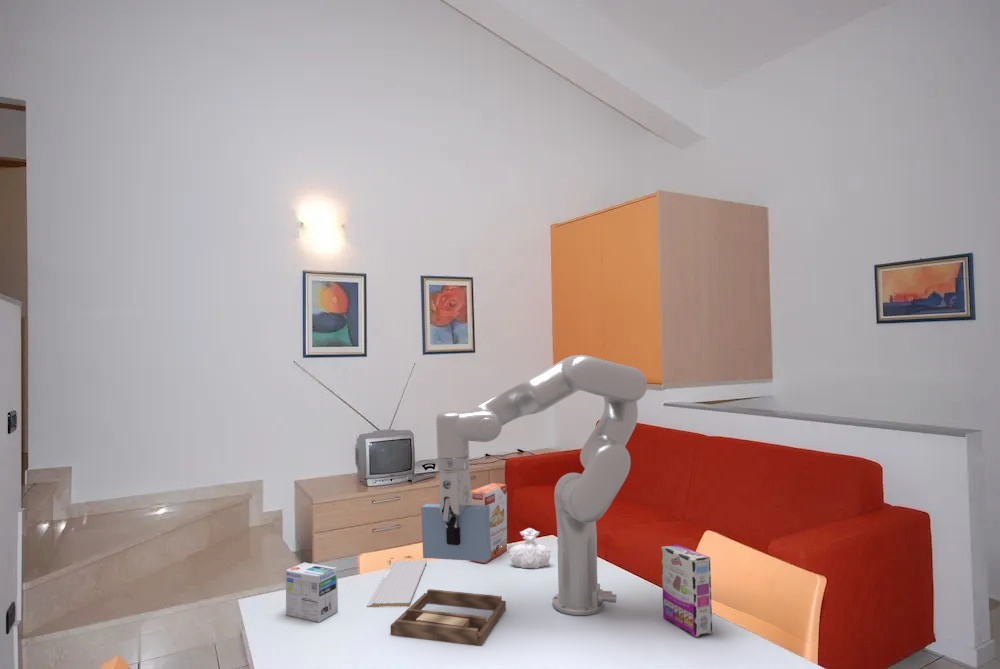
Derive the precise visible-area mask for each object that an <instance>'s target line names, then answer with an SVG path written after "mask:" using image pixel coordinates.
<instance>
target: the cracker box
mask: <svg viewBox="0 0 1000 669" xmlns="http://www.w3.org/2000/svg"><path fill="white" fill-rule="evenodd" d="M507 487H508V486H507V484H504V483H494V482H492V483H488V484H487V485H483V486H480V487H477V488H475V489H471V494H472V505H482V506H489V516H490V541H491V558H490V559H489V560H488V561H487V562H486V561H473V562H476V563H480V564H487V563H488V562H490V561H492V560H494V559H495V558H496V557H498V556H500V555H502V554H503V552H504V553H505V552H507V550H508V528H507V527H508V511H507V510H508V506H507V504H508V500H507V499H508V493H507V492H508V489H507ZM501 546H502V547H501Z"/></svg>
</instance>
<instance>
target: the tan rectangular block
mask: <svg viewBox="0 0 1000 669" xmlns="http://www.w3.org/2000/svg"><path fill="white" fill-rule="evenodd" d="M416 622H424V623H433V624H441V625H450V626H459V627H467V626H468V625H469V619H466V618H458V617H451V616H444V615H437V614H430V613H423V614H422V615H420V616H419V617H418V618H417V619H416Z"/></svg>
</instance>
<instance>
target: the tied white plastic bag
mask: <svg viewBox="0 0 1000 669" xmlns="http://www.w3.org/2000/svg"><path fill="white" fill-rule="evenodd" d="M519 534H520V535H521V537H522V540H524V542H523V543H519V544H517V545H515V546H512V547H511V548H510V549H509V552H508V553H509V558H510V561H511V564H512V565H513V566H514V567H517V568H522V569H539V568H542V567H546V566H548V564H549V563H550V558H551V549H550V548H549V547H548V546H544V545H543V544H540V543H536V541H535V540H537V539H538V536H539V535H540V531H538V530H535V529H534V528H532V527H528V528H526V529H524V530H522V531H519Z"/></svg>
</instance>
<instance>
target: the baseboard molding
mask: <svg viewBox="0 0 1000 669" xmlns="http://www.w3.org/2000/svg"><path fill="white" fill-rule="evenodd" d="M404 559H413V557H412V555H408V556H406V555H405V556H404ZM391 560H393V557H391V559H389V560H388V561H386V562H387V563H388V565H389V566H388V568H387V570H390V569H391V571H390V572H389V574H388V575H387V577H386V578H384V576H383V577H382V578H381V579H380V581H379V584H378V585H377V587H376V589H375V590H374V592H373V594H372V596H371V597H370V600H369V601H368V602H367V604H366V607H367V608H384V607H383V606H395V607H394V608H397V607H396V606H400V607H401V606H407V607H406V608H409V607H410V606H411V603H412V600H413V598H414V595H415V592H416V589H417V587H418V586H419V583H420V581H419V580H421V578H422V576H421V575H423V573H424V571H423V570H425V567H426V566H425V565H427V563H428V560H396V561H395V562H392V561H391ZM426 562H427V563H426ZM422 572H423V573H422ZM417 585H418V586H417ZM379 606H380V607H379ZM381 606H382V607H381ZM400 607H399V608H400ZM401 608H402V607H401Z"/></svg>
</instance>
